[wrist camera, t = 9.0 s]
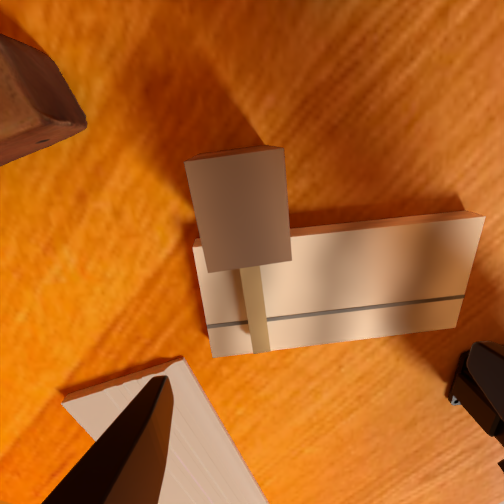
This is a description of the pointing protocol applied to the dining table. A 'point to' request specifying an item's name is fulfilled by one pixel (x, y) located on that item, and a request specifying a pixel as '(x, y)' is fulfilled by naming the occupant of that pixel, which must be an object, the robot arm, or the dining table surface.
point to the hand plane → (33, 102)
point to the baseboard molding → (177, 437)
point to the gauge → (243, 220)
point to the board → (349, 283)
